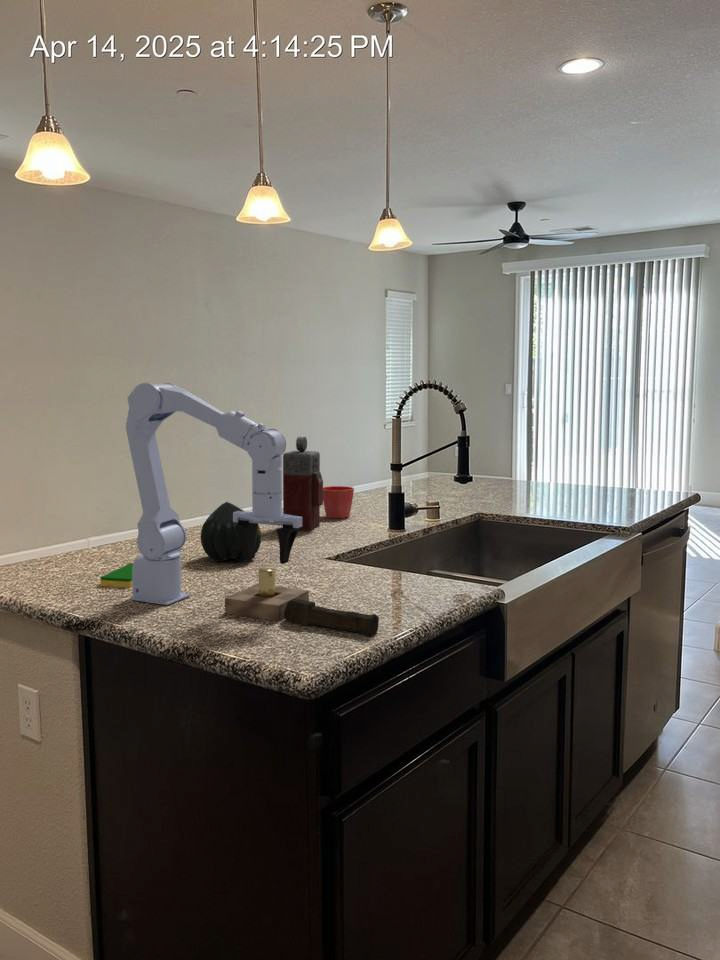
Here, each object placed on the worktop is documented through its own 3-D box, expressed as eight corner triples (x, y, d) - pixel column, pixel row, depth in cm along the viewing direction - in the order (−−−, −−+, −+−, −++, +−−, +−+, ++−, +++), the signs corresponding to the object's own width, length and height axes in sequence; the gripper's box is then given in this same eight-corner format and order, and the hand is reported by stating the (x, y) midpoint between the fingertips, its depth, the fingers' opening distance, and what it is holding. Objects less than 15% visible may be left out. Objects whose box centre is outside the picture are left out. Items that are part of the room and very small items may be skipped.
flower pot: (316, 515, 266) (316, 486, 265) (346, 513, 271) (346, 485, 270) (328, 520, 257) (328, 490, 255) (359, 518, 261) (359, 489, 260)
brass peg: (255, 610, 156) (255, 570, 155) (265, 606, 159) (265, 567, 158) (268, 612, 154) (268, 572, 153) (278, 608, 157) (278, 569, 156)
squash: (244, 547, 188) (256, 494, 197) (185, 546, 191) (199, 494, 200) (260, 575, 200) (271, 524, 208) (205, 574, 203) (217, 524, 211)
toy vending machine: (318, 531, 237) (318, 438, 234) (282, 529, 240) (282, 437, 236) (326, 526, 246) (327, 436, 242) (292, 524, 249) (292, 435, 245)
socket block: (225, 613, 154) (224, 598, 153) (257, 598, 164) (257, 583, 164) (279, 621, 149) (278, 605, 148) (308, 605, 160) (308, 590, 159)
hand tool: (380, 633, 143) (381, 608, 142) (370, 639, 140) (370, 614, 139) (292, 618, 152) (292, 594, 152) (281, 623, 149) (281, 599, 148)
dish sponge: (99, 587, 173) (99, 577, 173) (130, 572, 187) (130, 562, 186) (130, 589, 172) (129, 578, 171) (158, 574, 185) (158, 564, 185)
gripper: (223, 492, 153) (224, 561, 155) (289, 497, 147) (289, 568, 149) (243, 487, 159) (244, 554, 161) (307, 492, 154) (307, 561, 155)
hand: (267, 560), depth 155 cm, fingers open, 7 cm apart
